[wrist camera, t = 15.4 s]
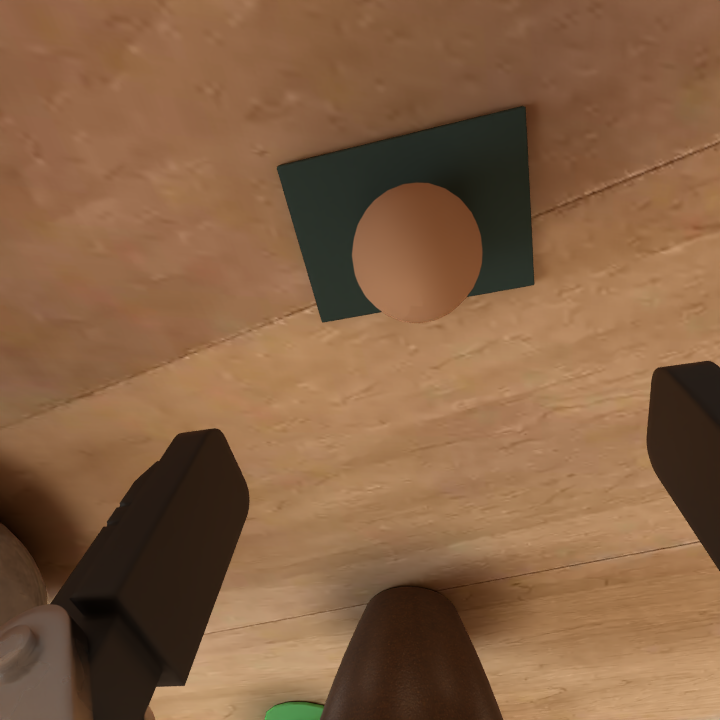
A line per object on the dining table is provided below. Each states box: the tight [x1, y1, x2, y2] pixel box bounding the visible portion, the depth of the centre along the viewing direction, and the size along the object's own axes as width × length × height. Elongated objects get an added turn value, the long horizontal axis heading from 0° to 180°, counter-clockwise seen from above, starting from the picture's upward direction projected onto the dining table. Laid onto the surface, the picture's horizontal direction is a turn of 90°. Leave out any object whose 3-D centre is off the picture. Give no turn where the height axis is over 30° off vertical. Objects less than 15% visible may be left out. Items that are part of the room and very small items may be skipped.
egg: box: [352, 183, 482, 323], centre depth 19 cm, size 5×5×8 cm
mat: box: [277, 106, 534, 322], centre depth 22 cm, size 11×8×1 cm
